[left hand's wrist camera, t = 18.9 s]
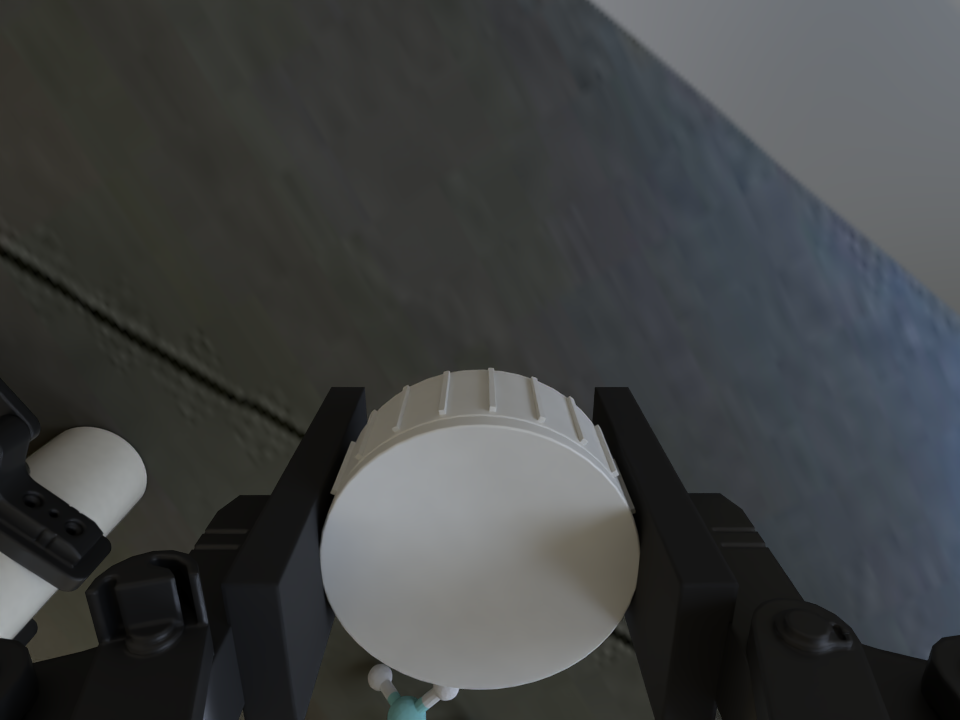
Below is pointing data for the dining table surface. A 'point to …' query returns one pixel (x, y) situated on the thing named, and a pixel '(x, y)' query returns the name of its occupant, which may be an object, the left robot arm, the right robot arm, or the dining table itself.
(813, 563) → the dining table surface
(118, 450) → the jar
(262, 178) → the dining table surface
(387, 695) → the molecular model
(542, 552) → the lid
